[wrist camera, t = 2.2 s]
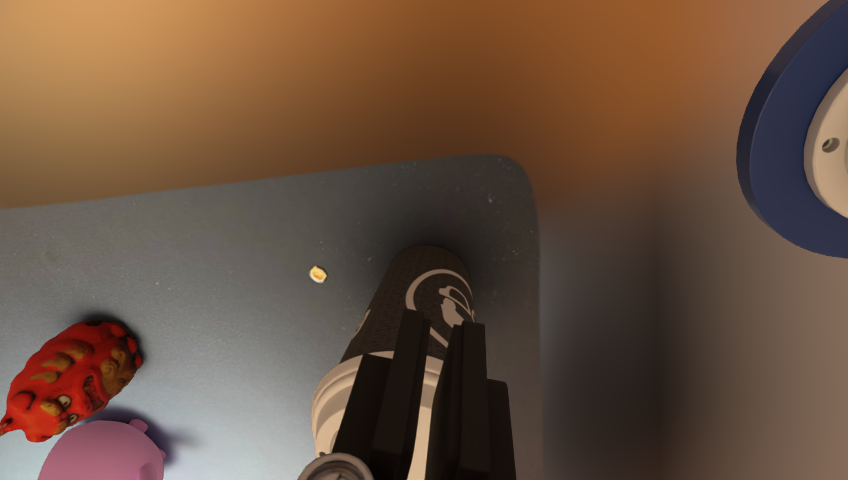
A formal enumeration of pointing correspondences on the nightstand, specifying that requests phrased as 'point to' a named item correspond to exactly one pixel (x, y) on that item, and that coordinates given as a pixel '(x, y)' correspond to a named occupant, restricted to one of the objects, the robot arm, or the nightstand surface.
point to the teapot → (105, 453)
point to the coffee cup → (377, 334)
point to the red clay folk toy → (70, 379)
